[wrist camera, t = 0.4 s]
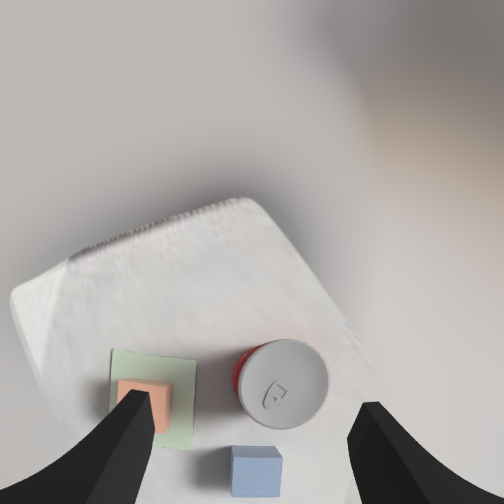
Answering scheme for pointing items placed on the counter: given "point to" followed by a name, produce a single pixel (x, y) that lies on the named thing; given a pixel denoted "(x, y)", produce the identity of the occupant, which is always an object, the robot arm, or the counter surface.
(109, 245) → the counter surface
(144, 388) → the terracotta brick
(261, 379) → the canned food
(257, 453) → the blue brick
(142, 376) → the plate
